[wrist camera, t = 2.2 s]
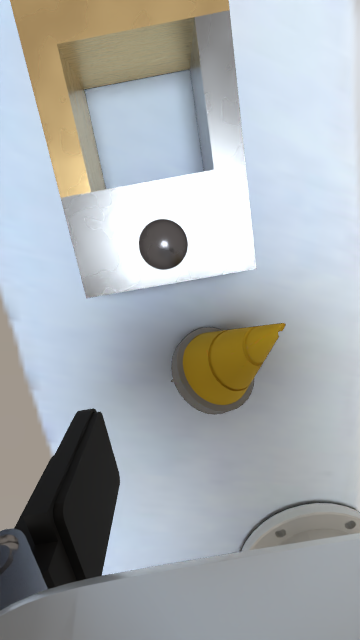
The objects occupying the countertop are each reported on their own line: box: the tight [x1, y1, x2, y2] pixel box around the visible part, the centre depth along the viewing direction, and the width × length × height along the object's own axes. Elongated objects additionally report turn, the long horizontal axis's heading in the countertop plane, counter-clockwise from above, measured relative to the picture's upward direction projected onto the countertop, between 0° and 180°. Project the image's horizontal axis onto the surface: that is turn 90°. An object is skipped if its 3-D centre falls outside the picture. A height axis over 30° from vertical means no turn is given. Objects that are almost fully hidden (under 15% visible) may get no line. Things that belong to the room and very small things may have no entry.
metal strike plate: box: [10, 0, 256, 298], centre depth 15 cm, size 16×9×5 cm, turn 10°
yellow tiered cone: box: [171, 323, 286, 414], centre depth 17 cm, size 5×5×10 cm
